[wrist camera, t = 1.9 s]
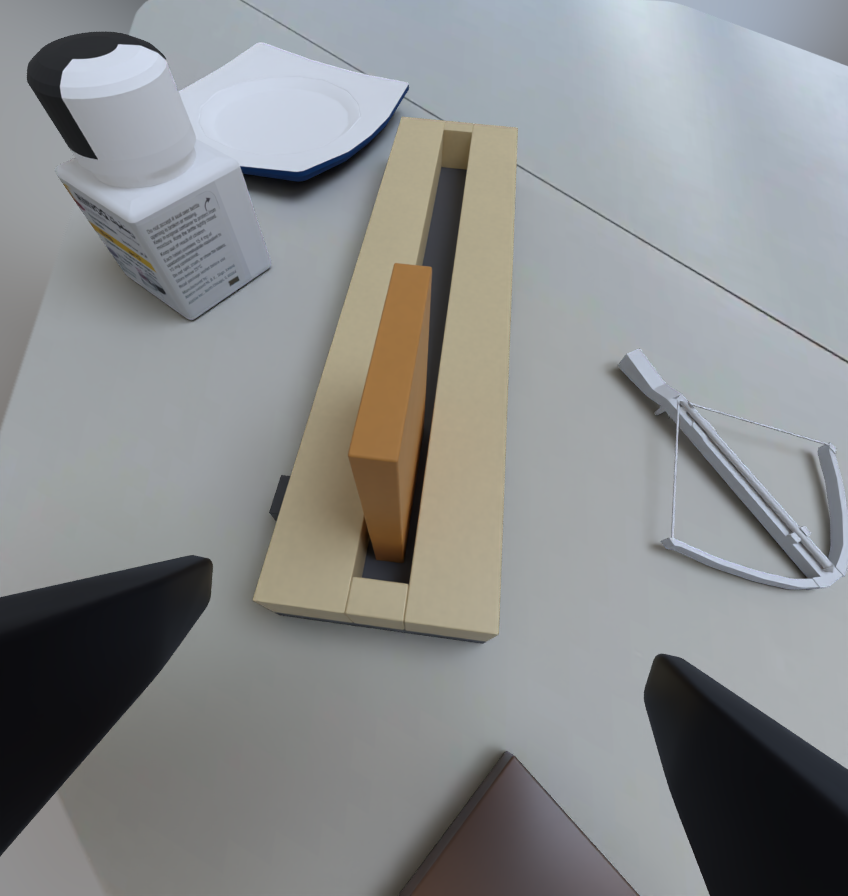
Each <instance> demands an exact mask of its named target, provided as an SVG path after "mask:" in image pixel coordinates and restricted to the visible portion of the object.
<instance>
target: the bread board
mask: <svg viewBox="0 0 848 896" xmlns="http://www.w3.org/2000/svg"><path fill="white" fill-rule="evenodd" d="M398 896H639V894H638V893H637V892H636V891H635V890H634V889H633V888H632V887H631V885H630V884H629V883H628V882H627V881H626V880H625V879H624V878H623V876H622V875H621V874H620V873H619V872H618V871H617V870H616V869H615V868H614V866H613V865H612V864H611V863H610V862H609V861H608V860H607V859H606V857H605V856H604V855H603V854H602V853H601V852H600V851H599V850H598V848H597V847H596V846H595V845H594V844H593V843H592V842H591V841H590V840H589V838H588V837H587V836H586V835H585V834H584V833H583V832H582V831H581V829H580V828H579V827H578V826H577V825H576V824H575V823H574V822H573V821H572V819H571V818H570V817H569V816H568V815H567V814H566V813H565V812H564V810H563V809H562V808H561V807H560V806H559V805H558V804H557V803H556V801H555V800H554V799H553V798H552V797H551V796H550V795H549V794H548V793H547V791H546V790H545V789H544V788H543V787H542V786H541V785H540V784H539V782H538V781H537V780H536V779H535V778H534V777H533V776H532V775H531V774H530V772H529V771H528V770H527V769H526V768H525V767H524V766H523V765H522V763H521V762H520V761H519V760H518V759H517V758H516V757H515V756H514V755H513V754H511V753H510V752H508V751H506V752H505V753H504V754H503V756H502V757H501V758H500V760H499V761H498V762H497V764H496V765H495V766H494V768H493V769H492V770H491V772H490V773H489V774H488V776H487V777H486V778H485V780H484V781H483V782H482V784H481V785H480V787H479V788H478V789H477V791H476V792H475V793H474V795H473V796H472V797H471V799H470V800H469V801H468V803H467V804H466V805H465V807H464V808H463V809H462V811H461V812H460V813H459V815H458V816H457V817H456V819H455V820H454V821H453V823H452V824H451V826H450V827H449V828H448V830H447V831H446V832H445V834H444V835H443V836H442V838H441V839H440V840H439V842H438V843H437V844H436V846H435V847H434V848H433V850H432V851H431V852H430V854H429V855H428V856H427V858H426V859H425V860H424V862H423V863H422V865H421V866H420V867H419V869H418V870H417V871H416V873H415V874H414V875H413V877H412V878H411V879H410V881H409V882H408V883H407V885H406V886H405V887H404V889H403V890H402V891H401V893H400V894H399V895H398Z"/></svg>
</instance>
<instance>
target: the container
mask: <svg viewBox="0 0 848 896" xmlns="http://www.w3.org/2000/svg"><path fill="white" fill-rule="evenodd" d="M27 81H28V83H29V85H30V87H31V88H32V90H33V91H34V93H35V95H36V96H37V98H38V99H39V101H40V102H41V104H42V106H43V107H44V109H45V110H46V112H47V113H48V115H49V117H50V118H51V120H52V121H53V123H54V125H55V126H56V128H57V129H58V131H59V132H60V134H61V135H62V137H63V139H64V140H65V142H66V144H67V145H68V147H69V148H70V150H71V151H72V153H73V155H74V156H75V158H73V159H71V160H70V161H67V162H65V163H62V164H60V165H58V166H56V169H55V172H56V174H57V176H58V177H59V179H60V180H61V182H62V183H63V185H64V186H65V188H66V189H67V190H68V192H69V193H70V195H71V196H72V198H73V199H74V201H75V202H76V203H77V205H78V206H79V208H80V209H81V211H82V212H83V214H84V215H85V216H86V218H87V219H88V221H89V222H90V224H91V225H92V227H93V228H94V229H95V231H96V232H97V234H98V235H99V237H100V238H101V240H102V241H103V242H104V244H105V245H106V247H107V248H108V250H109V251H110V253H111V254H112V255H113V257H114V258H115V260H116V261H117V263H118V264H119V266H120V267H121V269H122V270H123V271H124V273H125V274H126V275H127V276H128V277H130V278H131V279H132V280H134V281H135V282H137V283H138V284H139V285H141V286H142V287H144V288H145V289H146V290H148V291H149V292H151V293H152V294H153V295H155V296H156V297H158V298H159V299H160V300H162V301H163V302H165V303H166V304H167V305H169V306H170V307H172V308H173V309H174V310H176V311H177V312H179V313H180V314H181V315H183V316H184V317H186V318H187V319H189V320H194V319H196V318H197V317H198V316H200V315H201V314H203V313H204V312H206V311H207V310H209V309H210V308H212V307H213V306H215V305H216V304H217V303H219V302H220V301H222V300H223V299H225V298H226V297H228V296H229V295H231V294H232V293H233V292H235V291H236V290H238V289H239V288H241V287H242V286H244V285H245V284H247V283H248V282H250V281H251V280H252V279H254V278H255V277H257V276H258V275H260V274H261V273H263V272H264V271H266V270H267V269H269V268H270V267H271V259H270V256H269V253H268V250H267V247H266V244H265V241H264V238H263V235H262V232H261V229H260V226H259V223H258V220H257V216H256V213H255V210H254V207H253V204H252V201H251V198H250V195H249V192H248V189H247V186H246V183H245V180H244V177H243V174H242V171H241V168H240V165H239V163H238V161H237V160H235V159H234V158H232V157H230V156H228V155H226V154H224V153H222V152H220V151H218V150H217V149H215V148H213V147H211V146H209V145H207V144H205V143H203V142H201V141H200V140H198V139H196V135H195V132H194V130H193V127H192V125H191V122H190V120H189V117H188V114H187V112H186V109H185V107H184V104H183V102H182V99H181V96H180V94H179V91H178V89H177V86H176V84H175V81H174V79H173V76H172V73H171V71H170V68H169V66H168V63H167V61H166V58H165V56H164V55H163V54H162V53H161V52H160V51H159V50H158V49H156V48H155V47H154V46H153V45H152V44H150V43H148V42H146V41H144V40H141V39H138V38H135V37H132V36H129V35H126V34H122V33H116V32H89V33H81V34H76V35H71V36H67V37H64V38H61V39H58V40H56V41H53V42H51V43H49V44H47V45H46V46H44V47H43V48H42V49H41V50H40V51H39V52H38V53H37V54H36V55H35V56H34V57H33V58H32V60H31V61H30V62H29V64H28V69H27Z"/></svg>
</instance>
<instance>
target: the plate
mask: <svg viewBox="0 0 848 896" xmlns="http://www.w3.org/2000/svg"><path fill="white" fill-rule="evenodd" d="M408 90H409V85H408V83H407V82H404V81H398V80H393V79H387V78H382V77H376V76H371V75H366V74H362V73H358V72H354V71H350V70H346V69H343V68H339V67H335V66H332V65H328V64H325V63H322V62H318V61H315V60H311V59H308V58H306V57H303V56H300V55H297V54H294V53H291V52H289V51H286V50H283V49H280V48H277V47H275V46H272V45H269V44H266V43H263V42H260V43H256V44H255V45H254V46H252V47H251V48H249V49H248V50H246V51H245V52H243V53H242V54H240V55H239V56H237V57H236V58H234V59H233V60H232V61H230V62H229V63H227V64H226V65H224V66H223V67H221V68H220V69H218V70H216V71H214V72H212V73H211V74H209V75H207V76H205V77H204V78H202V79H200V80H198V81H197V82H195V83H193V84H191V85H189V86H188V87H186V88H184V89H182V90H180V91H179V94H180V96H181V99H182V102H183V104H184V107H185V109H186V112H187V114H188V117H189V120H190V122H191V125H192V127H193V130H194V132H195V135H196V139H198V140H200V141H201V142H203V143H205V144H207V145H209V146H211V147H213V148H215V149H217V150H218V151H220V152H222V153H224V154H226V155H228V156H230V157H232V158H234V159H235V160H237V161H238V163H239V165H240V168H241V171H242V173H244V174H249V175H256V176H263V177H270V178H277V179H284V180H291V181H298V182H299V181H306V180H308V179H310V178H312V177H314V176H316V175H318V174H320V173H322V172H324V171H326V170H329V169H331V168H333V167H335V166H337V165H339V164H341V163H343V162H345V161H347V160H348V159H349V158H351V157H352V156H353V155H354V154H356V153H357V152H358V151H359V150H361V149H362V148H363V147H364V146H366V145H367V144H368V143H369V142H370V141H371V140H372V139H373V138H375V137H376V136H377V135H378V134H379V133H380V132H381V131H382V130H383V129H384V128H385V127H386V125H387V123H388V122H389V120H390V119H391V117H392V115H393V114H394V112H395V110H396V109H397V107H398V106H399V104H400V102H401V101H402V99H403V98H404V96H405V94H406V93H407V91H408Z"/></svg>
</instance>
